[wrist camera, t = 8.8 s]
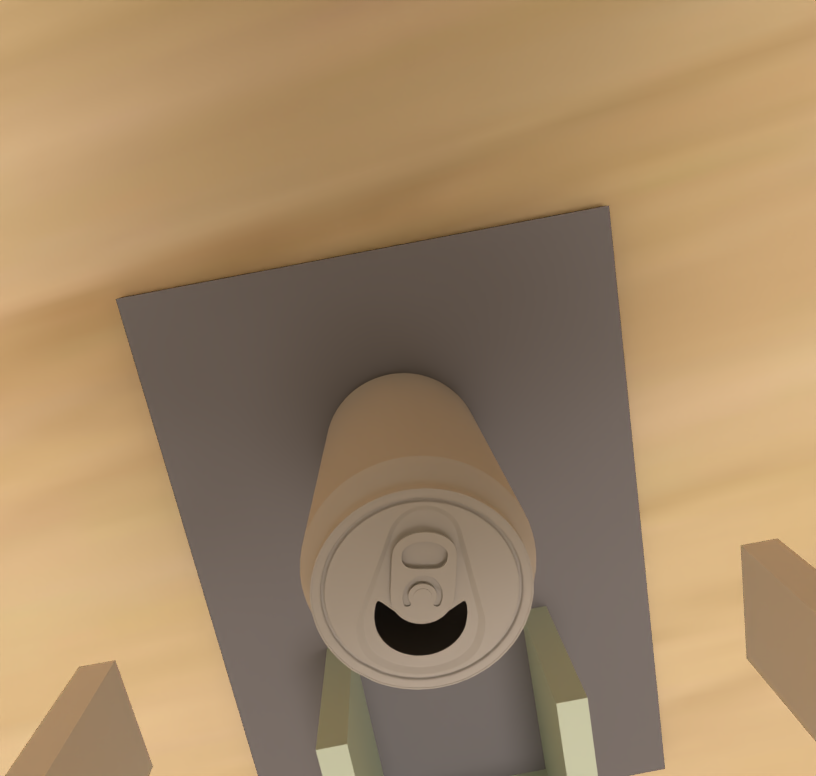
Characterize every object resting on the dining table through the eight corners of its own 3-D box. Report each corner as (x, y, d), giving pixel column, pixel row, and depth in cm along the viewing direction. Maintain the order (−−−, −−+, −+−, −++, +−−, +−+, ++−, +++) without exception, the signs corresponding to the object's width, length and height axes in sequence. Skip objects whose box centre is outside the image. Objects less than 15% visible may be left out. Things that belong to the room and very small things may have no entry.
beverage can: (327, 508, 28) (294, 707, 16) (327, 366, 27) (292, 474, 15) (471, 510, 28) (539, 705, 17) (480, 369, 27) (561, 477, 15)
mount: (603, 206, 26) (678, 199, 20) (659, 759, 33) (728, 886, 27) (121, 297, 26) (39, 320, 20) (280, 832, 33) (257, 978, 27)
